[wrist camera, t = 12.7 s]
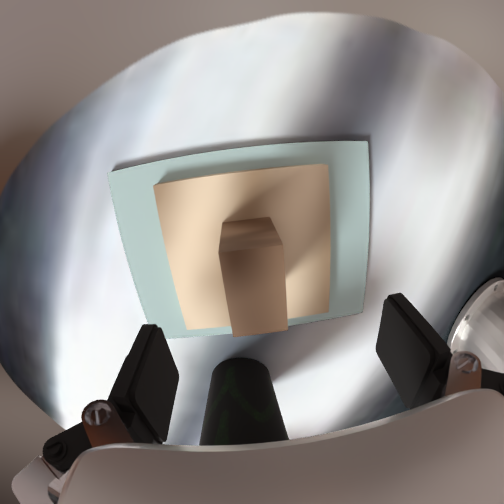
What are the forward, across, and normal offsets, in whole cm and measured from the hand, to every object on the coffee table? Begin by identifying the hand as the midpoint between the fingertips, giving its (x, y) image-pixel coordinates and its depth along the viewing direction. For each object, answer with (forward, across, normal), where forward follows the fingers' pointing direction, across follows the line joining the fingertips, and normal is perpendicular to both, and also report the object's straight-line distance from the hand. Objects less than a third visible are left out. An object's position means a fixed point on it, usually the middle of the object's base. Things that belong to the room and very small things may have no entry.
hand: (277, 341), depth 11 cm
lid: (+9, +1, 0) cm, 9 cm away
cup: (+10, +3, +13) cm, 17 cm away
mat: (+10, +1, 0) cm, 10 cm away
